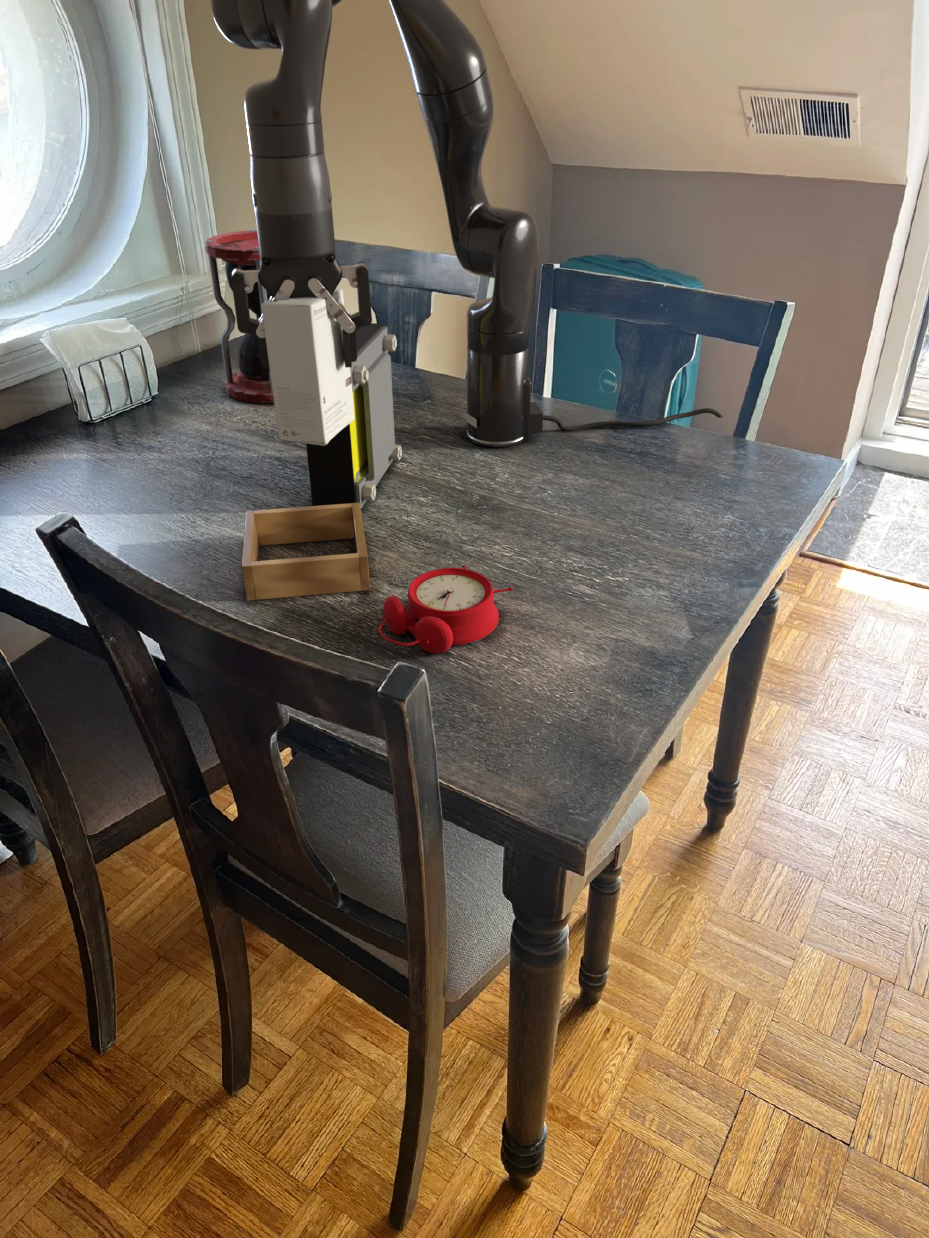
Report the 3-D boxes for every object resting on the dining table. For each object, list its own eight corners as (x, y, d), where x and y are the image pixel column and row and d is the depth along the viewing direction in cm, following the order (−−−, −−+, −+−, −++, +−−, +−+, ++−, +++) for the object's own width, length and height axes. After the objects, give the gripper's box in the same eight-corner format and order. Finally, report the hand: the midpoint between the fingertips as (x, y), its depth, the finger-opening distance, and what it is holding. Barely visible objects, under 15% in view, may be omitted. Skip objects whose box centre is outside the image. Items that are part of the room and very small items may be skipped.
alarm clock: (525, 586, 102) (430, 614, 92) (516, 638, 105) (421, 671, 94) (456, 554, 108) (358, 577, 98) (448, 604, 111) (352, 631, 100)
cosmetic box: (326, 447, 101) (312, 307, 93) (275, 441, 103) (257, 302, 94) (356, 419, 108) (346, 285, 100) (308, 413, 109) (294, 281, 101)
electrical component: (371, 512, 126) (361, 364, 115) (299, 506, 128) (282, 360, 117) (404, 460, 140) (398, 324, 129) (339, 455, 142) (327, 321, 131)
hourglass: (224, 377, 172) (203, 231, 158) (313, 370, 175) (299, 226, 162) (227, 407, 159) (204, 252, 145) (323, 399, 162) (309, 246, 148)
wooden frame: (361, 534, 121) (359, 502, 118) (370, 590, 109) (367, 556, 107) (250, 542, 119) (246, 510, 116) (247, 600, 107) (241, 566, 105)
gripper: (363, 194, 96) (374, 353, 105) (220, 200, 94) (244, 361, 104) (368, 208, 90) (379, 375, 99) (216, 214, 88) (241, 384, 97)
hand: (310, 367), depth 101 cm, fingers closed on cosmetic box, 7 cm apart
